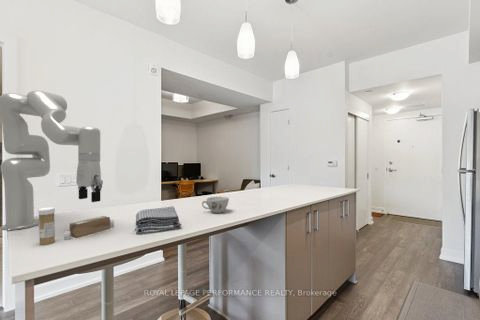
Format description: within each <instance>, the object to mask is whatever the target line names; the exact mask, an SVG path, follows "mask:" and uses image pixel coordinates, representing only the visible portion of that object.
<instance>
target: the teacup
mask: <svg viewBox="0 0 480 320" xmlns="http://www.w3.org/2000/svg"><path fill="white" fill-rule="evenodd" d="M229 199H230V198H229V197H228V196H227V197H226V196H211V197H207V198H206V200H203V201H202V202H201V206H202V207H203V208H204V209H205V210H206V209H207V210H210V211H211V212H212V213H213V214H222V213H224V211H225V210H226V209H227V207H228V204H229ZM204 204H206V206H207V207H206V206H205V205H204Z"/></svg>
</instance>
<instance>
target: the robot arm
mask: <svg viewBox="0 0 480 320" xmlns="http://www.w3.org/2000/svg"><path fill="white" fill-rule="evenodd" d="M67 102H68V101H66V99H65V98H64V97H63V96H61V95H60V94H59V95H58V94H56V93H51V92H48V91H44V90H32V91H31V90H30V91H29V92H28V93H27V94H26V95H25V94H20V93H12V92H8V93H3V94H1V95H0V121H1V126H2V136H3V137H2V138H3V147H4V151H5V152H6V153H7V154H9V155H14V156H15V155H17V156H18V155H19V156H21V155H22V156H29V155H30V156H32V157H11V158H8V159H5V160H4V161H2V162H1V164H0V172H1V175H2V179H3V184H4V185H3V186H4V208H5V211H4V212H5V213H4V214H5V224H3V225H1V226H0V230H1V231H17V230H24V229H28V228H32V227H35V226H37V225H39V221H38V220H37V219H36V220H35V217H34V216H35V206H34V205H35V204H34V187H33V184H32V183H31V181H29V180H28V179H30V178H40V177H42V178H43V177H45V176H47V175H49V173H50V171H51V170H50V169H51V161H50V160H51V159H50V148H49V143H48V140H49V141H51V142H52V143H54V144H56V145H61V146H77V148H78V149H77V150H78V152H77V153H78V155H77V158H78V159H77V161H78V163H77V170H76V185H77V186H78V187H77V190H78V199H79V200H83V199H88V196H89V195H88V194H89V193H88V188H89V187H90V188H91V190H92V191H91V193H90V194H91V195H90V196H91V203H97V202H101V192H102V188H103V183H104V181H103V179H102V171H101V163H100V162H101V131H100V129H99V128H97V127H92V126H91V127H87V126H83V127H76V126H68V125H61V123H63V122H64V121H65V119H66V118H67V109H68V103H67ZM20 114H22V115H26V116H34V117H40V118H41V122H40V127H41V131H42V133H43V134H44V135H45V136H46V137H47V138H48V140H47V139H46V138H45V137H44V136H42V135H38V134H36V135H34V134H30V133H29V132H30V131H29V125H28V123H27V121H26V120H25V118H24V117H22V116H21V115H20ZM8 229H10V230H8Z"/></svg>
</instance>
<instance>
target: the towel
mask: <svg viewBox="0 0 480 320" xmlns="http://www.w3.org/2000/svg"><path fill="white" fill-rule="evenodd" d="M135 218H136V219H135V233H136V234H138V235H143V234H144V235H145V234H152V233H158V232H164V231H171V230H178V229H180V228H181V227H182V223H181V221H180V219H179V216H178V214H177V211H176V208H175V207H174V206H173V205H171V206H166V207H158V208H149V209H148V208H147V209H142V210H139V211H138V212H136V215H135Z"/></svg>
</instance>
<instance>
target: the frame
mask: <svg viewBox="0 0 480 320" xmlns="http://www.w3.org/2000/svg"><path fill="white" fill-rule="evenodd" d="M110 220H111V217H110V216H107V215H102V216H98V217H92V218H87V219H83V220H80V221H75V222H70V223H69V231H70V236H71V237H74V238H79V239H81V238H80V237H83V236H86V237H88V236H87V235H90V234H93V235H95V234H94V233H97V234H99V233H98V232H101V231H104V232H106V231H105V230H108V229H110ZM108 231H109V230H108ZM101 233H102V232H101ZM90 236H91V235H90ZM83 238H84V237H83Z"/></svg>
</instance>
